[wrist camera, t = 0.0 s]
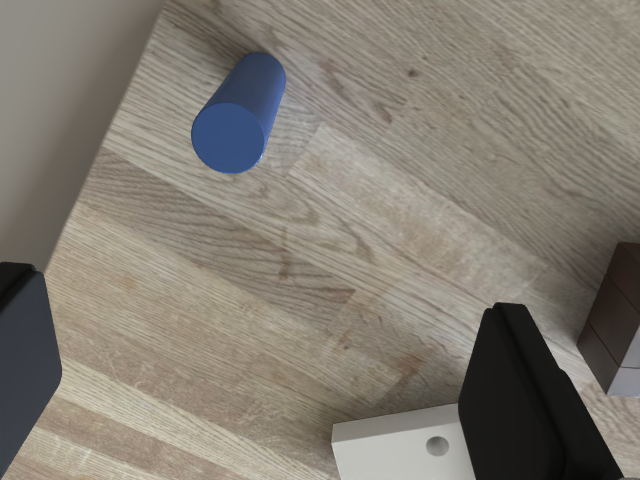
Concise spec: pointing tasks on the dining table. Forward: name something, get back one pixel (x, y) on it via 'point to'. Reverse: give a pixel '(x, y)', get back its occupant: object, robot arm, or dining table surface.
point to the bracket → (403, 446)
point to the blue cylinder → (240, 115)
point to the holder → (616, 326)
